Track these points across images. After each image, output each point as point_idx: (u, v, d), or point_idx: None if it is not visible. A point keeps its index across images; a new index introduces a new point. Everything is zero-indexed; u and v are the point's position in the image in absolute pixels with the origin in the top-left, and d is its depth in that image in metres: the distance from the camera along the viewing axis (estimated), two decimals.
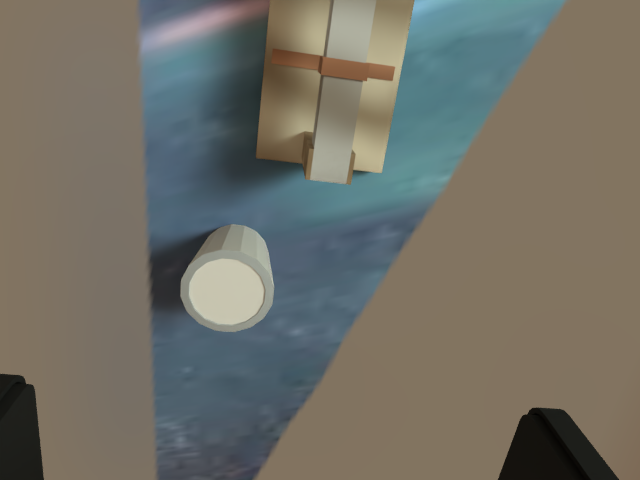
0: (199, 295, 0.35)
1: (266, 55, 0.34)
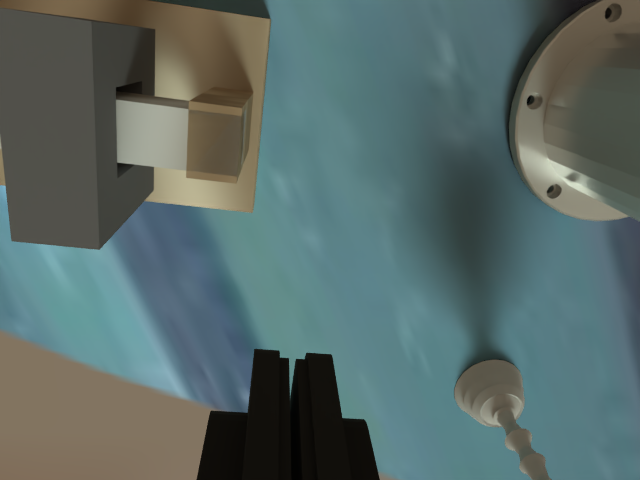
0: None
1: None
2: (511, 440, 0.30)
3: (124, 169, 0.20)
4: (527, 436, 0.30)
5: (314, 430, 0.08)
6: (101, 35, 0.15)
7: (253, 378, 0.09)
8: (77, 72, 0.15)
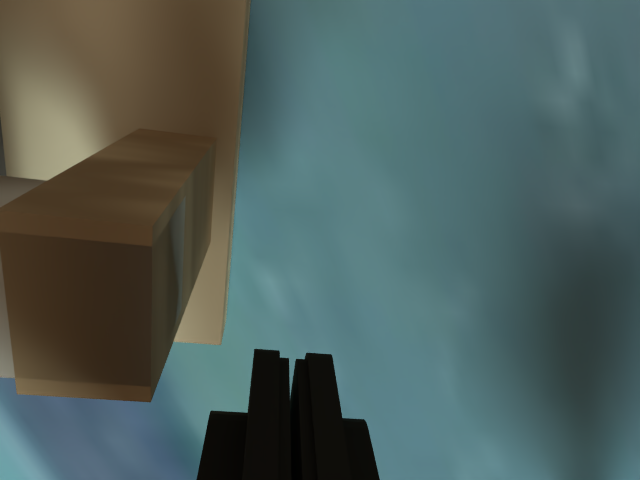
0: None
1: None
2: None
3: None
4: None
5: (314, 430, 0.08)
6: None
7: (253, 378, 0.09)
8: None
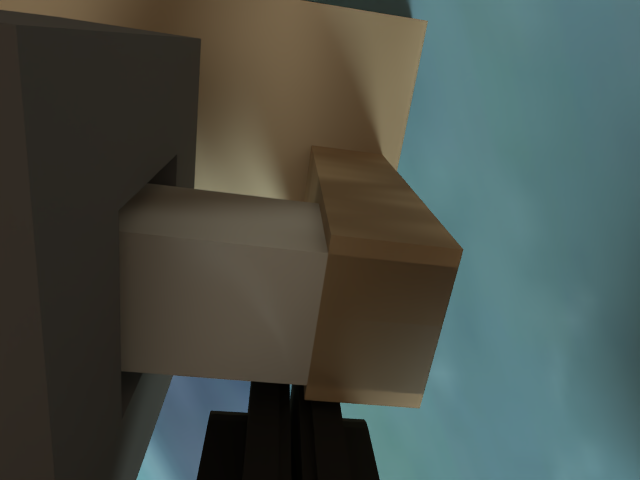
0: None
1: None
2: None
3: None
4: None
5: (314, 430, 0.08)
6: (68, 75, 0.04)
7: None
8: None
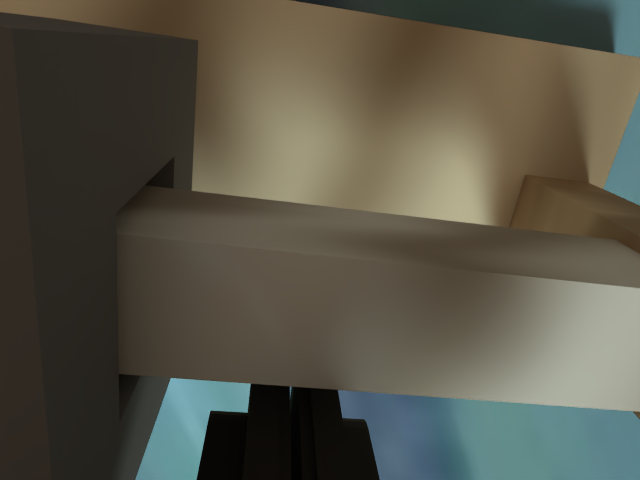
0: None
1: None
2: None
3: None
4: None
5: (314, 430, 0.08)
6: (65, 78, 0.04)
7: None
8: None
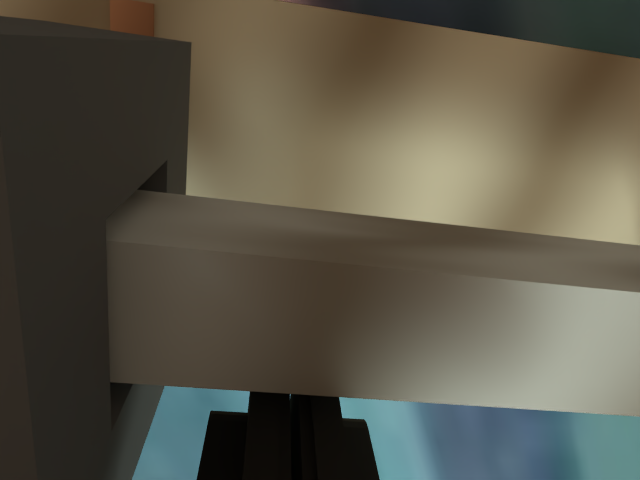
0: None
1: None
2: None
3: None
4: None
5: (314, 430, 0.08)
6: (49, 84, 0.04)
7: None
8: None
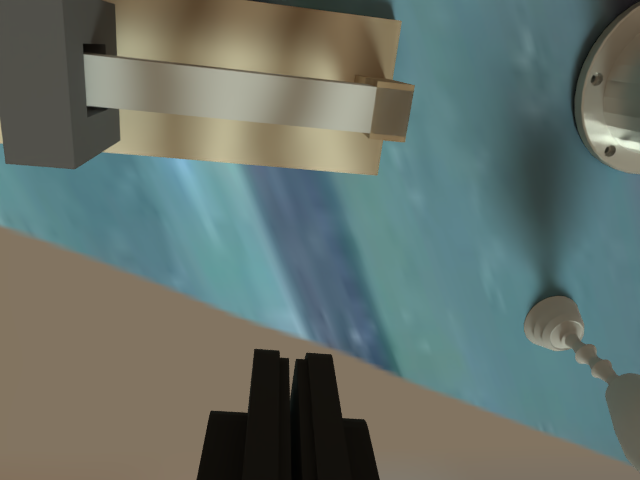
0: None
1: None
2: (581, 354, 0.37)
3: (93, 113, 0.25)
4: (593, 350, 0.37)
5: (314, 430, 0.08)
6: (69, 0, 0.20)
7: (253, 378, 0.09)
8: (52, 27, 0.20)
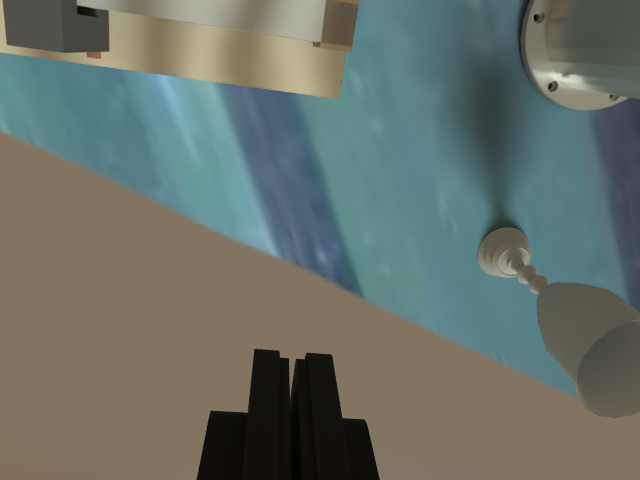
0: None
1: None
2: (522, 273, 0.41)
3: (83, 15, 0.29)
4: (534, 270, 0.41)
5: (314, 430, 0.08)
6: None
7: (253, 378, 0.09)
8: None
